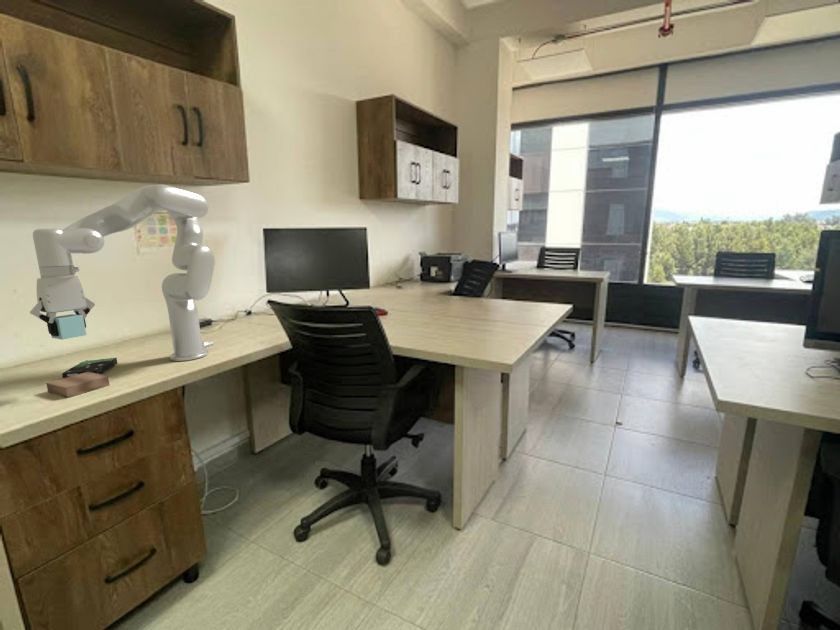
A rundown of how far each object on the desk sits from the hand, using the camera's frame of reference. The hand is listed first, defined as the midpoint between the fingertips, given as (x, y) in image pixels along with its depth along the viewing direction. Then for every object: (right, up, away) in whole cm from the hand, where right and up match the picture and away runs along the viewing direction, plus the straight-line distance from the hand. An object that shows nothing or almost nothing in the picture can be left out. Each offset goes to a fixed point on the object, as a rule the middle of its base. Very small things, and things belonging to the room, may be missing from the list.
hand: (68, 332), depth 123 cm
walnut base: (0, -17, +3) cm, 18 cm away
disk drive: (-9, -15, +21) cm, 27 cm away
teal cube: (0, -1, 0) cm, 1 cm away
